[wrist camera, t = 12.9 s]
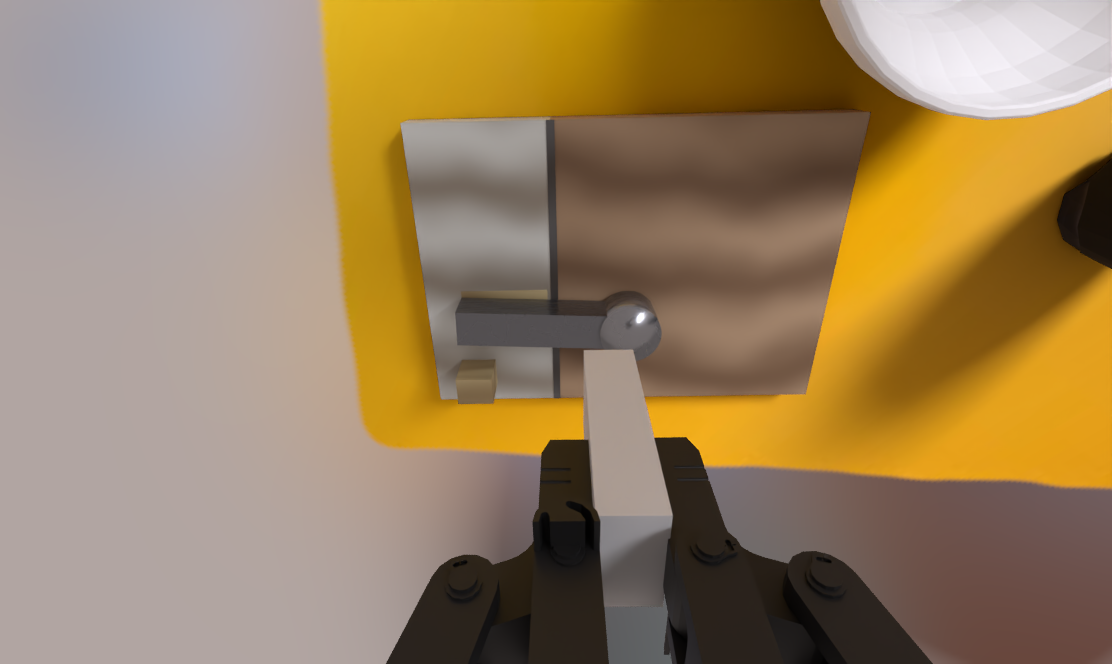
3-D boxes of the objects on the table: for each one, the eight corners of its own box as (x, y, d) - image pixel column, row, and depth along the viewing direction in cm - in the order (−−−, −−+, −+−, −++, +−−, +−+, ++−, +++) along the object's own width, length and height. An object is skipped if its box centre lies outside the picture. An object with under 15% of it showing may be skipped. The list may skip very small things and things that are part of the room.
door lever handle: (657, 291, 36) (665, 308, 34) (651, 342, 38) (658, 362, 36) (460, 286, 36) (453, 303, 34) (464, 338, 38) (457, 358, 36)
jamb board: (408, 119, 34) (386, 128, 29) (854, 109, 33) (897, 116, 29) (446, 385, 43) (433, 421, 39) (795, 379, 42) (821, 415, 38)
